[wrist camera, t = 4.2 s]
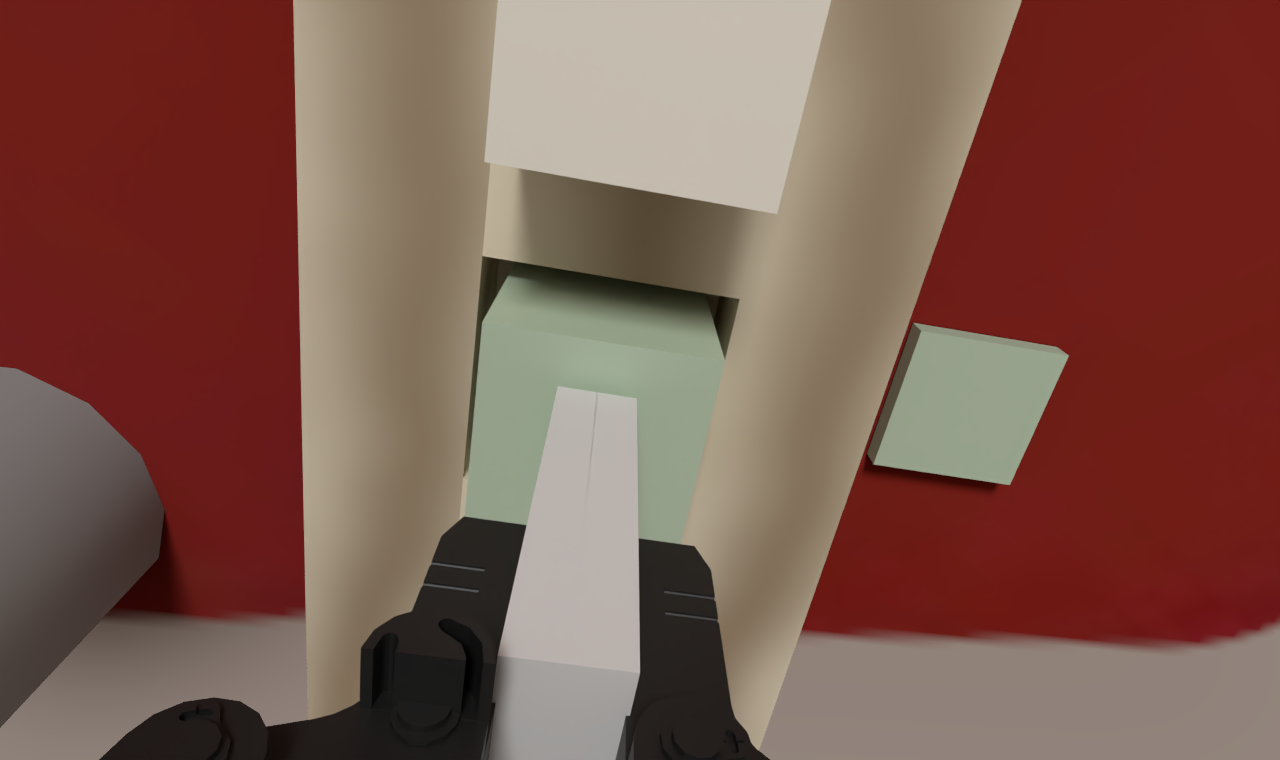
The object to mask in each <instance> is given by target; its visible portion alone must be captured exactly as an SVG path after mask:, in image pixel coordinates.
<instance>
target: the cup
mask: <svg viewBox="0 0 1280 760" xmlns="http://www.w3.org/2000/svg"><path fill="white" fill-rule="evenodd" d="M164 511H165V509H164V507H163V505H162V503H161V500H160V498H159V496H158V493H157V491H156V489H155V486H154V484H153V482H152V480H151V477H150V475H149V473H148V470H147V468H146V466H145V463H144V461H143V459H142V457H141V454H140V453H139V452H138V451H137V450H135V449H134V448H133V447H132V446H131V445H130V444H129V443H128V442H127V441H126V440H125V439H124V438H123V437H122V436H121V435H120V434H119V433H118V432H117V431H116V430H115V429H114V428H113V427H112V426H111V425H110V424H109V423H108V422H107V421H106V420H105V419H104V418H103V417H102V416H101V415H100V414H99V413H98V412H97V411H96V410H94V409H93V408H92V407H91V406H90V405H89V404H88V403H86V402H84V401H82V400H80V399H78V398H76V397H74V396H72V395H70V394H68V393H66V392H64V391H62V390H60V389H57V388H55V387H53V386H51V385H49V384H47V383H45V382H43V381H41V380H39V379H37V378H35V377H33V376H31V375H29V374H27V373H24V372H22V371H20V370H18V369H14V368H5V367H0V727H1V726H2V725H3V724H4V723H5V722H6V721H7V720H8V719H9V718H10V716H11V715H12V714H13V713H14V712H15V711H16V710H17V709H18V708H19V707H20V706H21V705H22V704H23V702H25V700H26V699H27V698H28V697H29V696H30V695H31V694H32V693H33V692H34V691H35V690H36V689H37V688H38V687H39V686H40V684H41V683H42V682H43V681H44V680H45V679H46V678H47V677H48V676H49V675H50V674H51V673H52V672H53V670H54V669H55V668H56V667H57V666H58V665H59V664H60V663H61V662H62V661H63V660H64V659H65V658H66V657H67V656H68V655H69V653H70V652H71V651H72V650H73V649H74V648H75V647H76V646H77V645H78V644H79V643H80V642H81V641H82V640H83V638H84V637H85V636H86V635H87V634H88V633H89V632H90V631H91V630H92V629H93V628H94V627H95V626H96V624H98V622H99V621H100V620H101V619H102V618H103V617H104V616H105V615H106V614H107V613H108V612H109V611H110V610H111V609H112V608H113V606H114V605H115V604H116V603H117V602H118V601H119V600H120V599H121V598H122V597H123V596H124V595H125V594H126V593H127V591H128V590H129V589H130V588H131V587H132V586H133V585H134V584H135V583H136V582H137V581H138V580H139V579H140V578H141V577H142V575H143V574H144V573H145V572H146V571H147V570H148V569H149V568H150V567H151V566H152V565H153V564H154V563H155V562H156V560H157V559H158V558H159V551H160V543H161V535H162V527H163V519H164Z"/></svg>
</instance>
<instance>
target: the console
mask: <svg viewBox="0 0 1280 760" xmlns="http://www.w3.org/2000/svg"><path fill="white" fill-rule="evenodd" d="M1021 1H1022V0H831V3H830V7H829V11H828V15H827V19H826V23H825V27H824V31H823V35H822V39H821V43H820V47H819V51H818V55H817V59H816V63H815V67H814V70H813V74H812V78H811V82H810V86H809V90H808V94H807V98H806V102H805V106H804V110H803V114H802V118H801V122H800V126H799V130H798V134H797V138H796V142H795V145H794V149H793V153H792V157H791V161H790V165H789V169H788V173H787V177H786V181H785V185H784V189H783V193H782V197H781V201H780V205H779V209H778V213H777V214H774V213H768V212H762V211H757V210H751V209H746V208H740V207H734V206H729V205H723V204H717V203H712V202H706V201H701V200H695V199H689V198H684V197H678V196H672V195H667V194H661V193H656V192H650V191H644V190H639V189H633V188H627V187H622V186H616V185H611V184H605V183H599V182H594V181H588V180H583V179H577V178H571V177H566V176H560V175H554V174H549V173H543V172H538V171H532V170H526V169H521V168H515V167H509V166H504V165H498V164H493V163H487V162H484V159H485V147H486V135H487V123H488V111H489V99H490V87H491V75H492V63H493V51H494V39H495V28H496V16H497V4H498V0H293V5H294V55H295V104H296V153H297V202H298V252H299V301H300V350H301V400H302V449H303V498H304V547H305V597H306V646H307V695H308V720H311V719H316V718H319V717H323V716H327V715H331V714H335V713H337V712H339V711H341V710H343V709H346V708H348V707H350V706H352V705H354V704H355V703H357V702H358V701H360V658H361V647H362V645H363V644H364V643H365V641H366V640H367V639H368V637H369V636H370V635H371V633H372V632H373V631H374V629H376V628H378V627H379V626H381V625H382V624H384V623H385V622H387V621H388V620H390V619H391V618H393V617H395V616H398V615H401V614H404V613H408V612H411V611H412V609H413V607H414V604H415V602H416V599H417V597H418V594H419V592H420V589H421V587H422V586H423V582H424V579H425V576H426V574H427V571H428V569H429V566H431V562H432V559H433V556H434V554H435V551H436V548H437V546H438V543H439V541H440V538H441V536H442V535H443V534H444V533H445V532H446V531H448V530H449V529H450V528H451V527H452V526H453V525H454V524H456V523H457V522H458V521H459V520H460V519H461V518H463V517H464V516H465V507H466V496H467V484H468V473H469V462H470V451H471V440H472V429H473V418H474V407H475V396H476V385H477V374H478V363H479V352H480V341H481V330H482V322H483V320H484V318H485V316H486V315H487V313H488V311H489V309H490V307H491V306H492V304H493V302H494V300H495V298H496V297H497V295H498V293H499V291H500V289H501V287H502V286H503V284H504V282H505V280H506V278H507V277H508V275H509V273H510V271H511V269H512V268H513V266H514V264H515V262H521V263H527V264H533V265H539V266H545V267H551V268H557V269H563V270H569V271H575V272H581V273H587V274H593V275H599V276H605V277H611V278H617V279H623V280H629V281H635V282H641V283H647V284H653V285H659V286H665V287H671V288H677V289H683V290H689V291H694V292H700V293H705V295H706V298H707V302H708V305H709V308H710V312H711V315H712V318H713V322H714V325H715V329H716V332H717V335H718V339H719V342H720V345H721V349H722V352H723V356H724V359H725V364H724V368H723V372H722V376H721V380H720V384H719V389H718V393H717V397H716V401H715V405H714V409H713V413H712V417H711V421H710V425H709V429H708V434H707V438H706V442H705V446H704V450H703V454H702V458H701V462H700V466H699V470H698V475H697V479H696V483H695V487H694V491H693V495H692V499H691V503H690V507H689V511H688V515H687V520H686V524H685V528H684V532H683V536H682V540H681V544H683V545H690V546H695V547H696V549H697V550H698V552H699V553H700V555H701V556H702V558H703V559H704V561H705V562H706V563H707V565H708V566H709V568H710V569H711V573H712V580H713V586H714V593H715V599H714V601H716V606H717V613H718V623H719V626H720V633H721V639H722V646H723V653H724V659H725V666H726V673H727V679H728V686H729V693H730V699H731V706H732V709H733V712H734V716H735V718H736V719H737V721H738V722H739V723H740V724H741V725H742V726H743V728H744V729H745V730H746V731H747V733H748V735H749V738H750V741H751V743H752V744H753V746H754V747H755V748H756V749H757V750H758V751H759V749H760V746H761V743H762V741H763V737H764V735H765V732H766V729H767V726H768V723H769V720H770V718H771V715H772V712H773V709H774V706H775V703H776V700H777V698H778V694H779V692H780V689H781V686H782V683H783V680H784V678H785V675H786V672H787V669H788V666H789V663H790V661H791V658H792V655H793V652H794V649H795V646H796V643H797V641H798V638H799V635H800V632H801V629H802V626H803V623H804V621H805V618H806V615H807V612H808V609H809V606H810V603H811V601H812V598H813V595H814V592H815V589H816V586H817V584H818V581H819V578H820V575H821V572H822V569H823V566H824V564H825V561H826V558H827V555H828V552H829V549H830V546H831V544H832V541H833V538H834V535H835V532H836V529H837V526H838V524H839V521H840V518H841V515H842V512H843V509H844V506H845V504H846V501H847V498H848V495H849V492H850V489H851V486H852V484H853V481H854V478H855V475H856V472H857V469H858V466H859V464H860V461H861V458H862V455H863V452H864V449H865V446H866V444H867V441H868V438H869V435H870V432H871V429H872V426H873V424H874V421H875V418H876V415H877V412H878V409H879V406H880V404H881V401H882V398H883V395H884V392H885V389H886V386H887V384H888V381H889V378H890V375H891V372H892V369H893V366H894V364H895V361H896V358H897V355H898V352H899V349H900V346H901V344H902V341H903V338H904V335H905V332H906V329H907V326H908V324H909V321H910V318H911V315H912V312H913V309H914V307H915V304H916V301H917V298H918V295H919V292H920V289H921V287H922V284H923V281H924V278H925V275H926V272H927V269H928V267H929V264H930V261H931V258H932V255H933V252H934V249H935V247H936V244H937V241H938V238H939V235H940V232H941V229H942V227H943V224H944V221H945V218H946V215H947V212H948V209H949V207H950V204H951V201H952V198H953V195H954V192H955V189H956V187H957V184H958V181H959V178H960V175H961V172H962V169H963V167H964V164H965V161H966V158H967V155H968V152H969V149H970V147H971V144H972V141H973V138H974V135H975V132H976V129H977V127H978V124H979V121H980V118H981V115H982V112H983V109H984V107H985V104H986V101H987V98H988V95H989V92H990V89H991V87H992V84H993V81H994V78H995V75H996V72H997V69H998V67H999V64H1000V61H1001V58H1002V55H1003V52H1004V49H1005V47H1006V44H1007V41H1008V38H1009V35H1010V32H1011V30H1012V27H1013V24H1014V21H1015V18H1016V15H1017V12H1018V10H1019V7H1020V4H1021Z"/></svg>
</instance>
